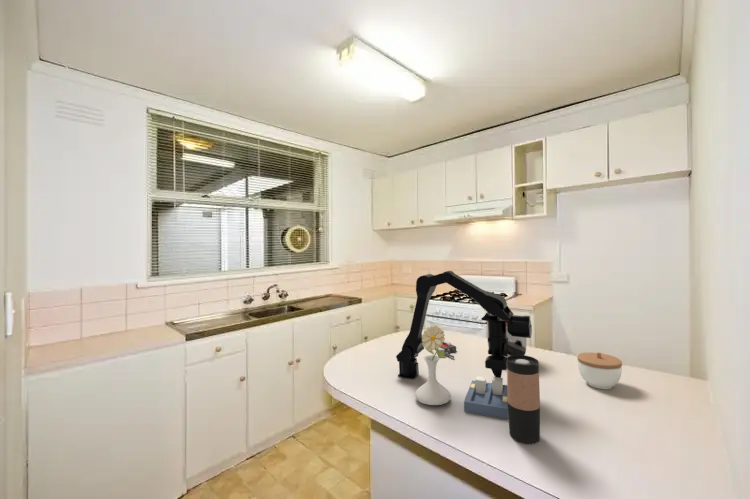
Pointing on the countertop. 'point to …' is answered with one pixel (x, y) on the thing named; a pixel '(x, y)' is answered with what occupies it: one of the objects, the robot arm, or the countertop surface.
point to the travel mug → (523, 398)
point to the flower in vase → (433, 369)
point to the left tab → (480, 385)
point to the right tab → (497, 386)
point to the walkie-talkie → (447, 348)
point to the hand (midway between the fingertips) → (498, 380)
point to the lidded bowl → (599, 369)
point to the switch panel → (487, 402)
